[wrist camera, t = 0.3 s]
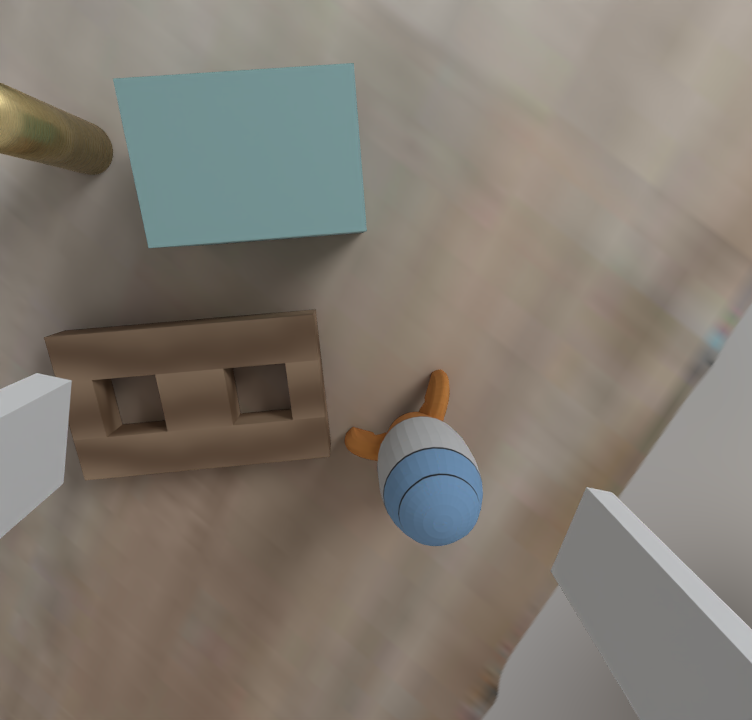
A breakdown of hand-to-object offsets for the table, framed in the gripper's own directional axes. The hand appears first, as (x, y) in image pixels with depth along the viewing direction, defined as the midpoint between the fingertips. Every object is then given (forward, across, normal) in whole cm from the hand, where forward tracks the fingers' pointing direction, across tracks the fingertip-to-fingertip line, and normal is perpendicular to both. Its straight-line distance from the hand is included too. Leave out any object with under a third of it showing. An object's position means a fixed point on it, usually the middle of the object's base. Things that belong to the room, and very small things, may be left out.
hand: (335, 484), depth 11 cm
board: (+26, -10, -9) cm, 29 cm away
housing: (+26, -8, +8) cm, 28 cm away
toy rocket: (+26, +8, -7) cm, 28 cm away
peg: (+26, -21, +7) cm, 34 cm away
